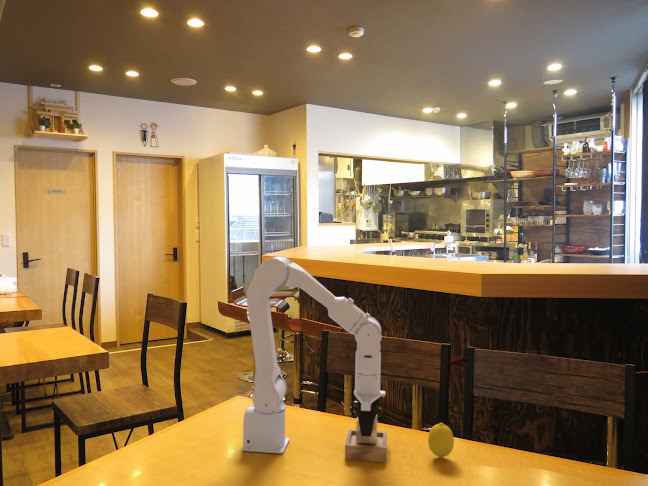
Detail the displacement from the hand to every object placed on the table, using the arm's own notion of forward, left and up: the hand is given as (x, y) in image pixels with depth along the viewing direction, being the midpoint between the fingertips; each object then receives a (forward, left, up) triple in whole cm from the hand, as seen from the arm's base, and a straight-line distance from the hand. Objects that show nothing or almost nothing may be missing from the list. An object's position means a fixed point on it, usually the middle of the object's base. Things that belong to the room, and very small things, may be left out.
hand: (366, 431), depth 119 cm
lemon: (+17, 0, -5) cm, 17 cm away
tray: (0, 0, -5) cm, 5 cm away
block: (0, 0, -2) cm, 2 cm away
